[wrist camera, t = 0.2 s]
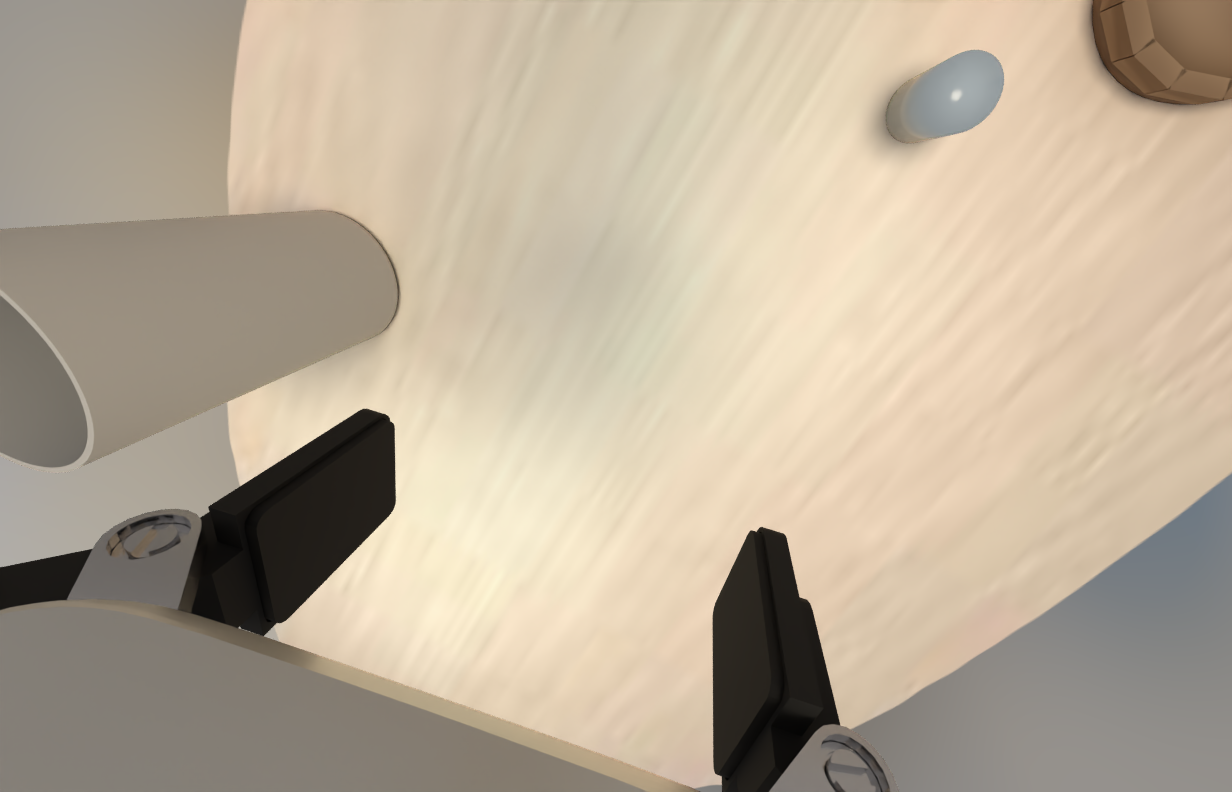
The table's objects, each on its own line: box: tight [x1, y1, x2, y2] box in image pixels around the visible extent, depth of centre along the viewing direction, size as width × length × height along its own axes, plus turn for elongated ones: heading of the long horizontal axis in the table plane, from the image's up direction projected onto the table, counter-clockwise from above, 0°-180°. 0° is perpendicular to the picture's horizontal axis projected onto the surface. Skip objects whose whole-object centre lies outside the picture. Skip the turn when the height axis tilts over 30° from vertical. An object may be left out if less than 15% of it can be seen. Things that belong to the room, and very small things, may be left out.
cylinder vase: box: [0, 210, 398, 473], centre depth 33 cm, size 12×12×25 cm
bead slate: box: [886, 50, 1004, 143], centre depth 28 cm, size 4×4×6 cm
